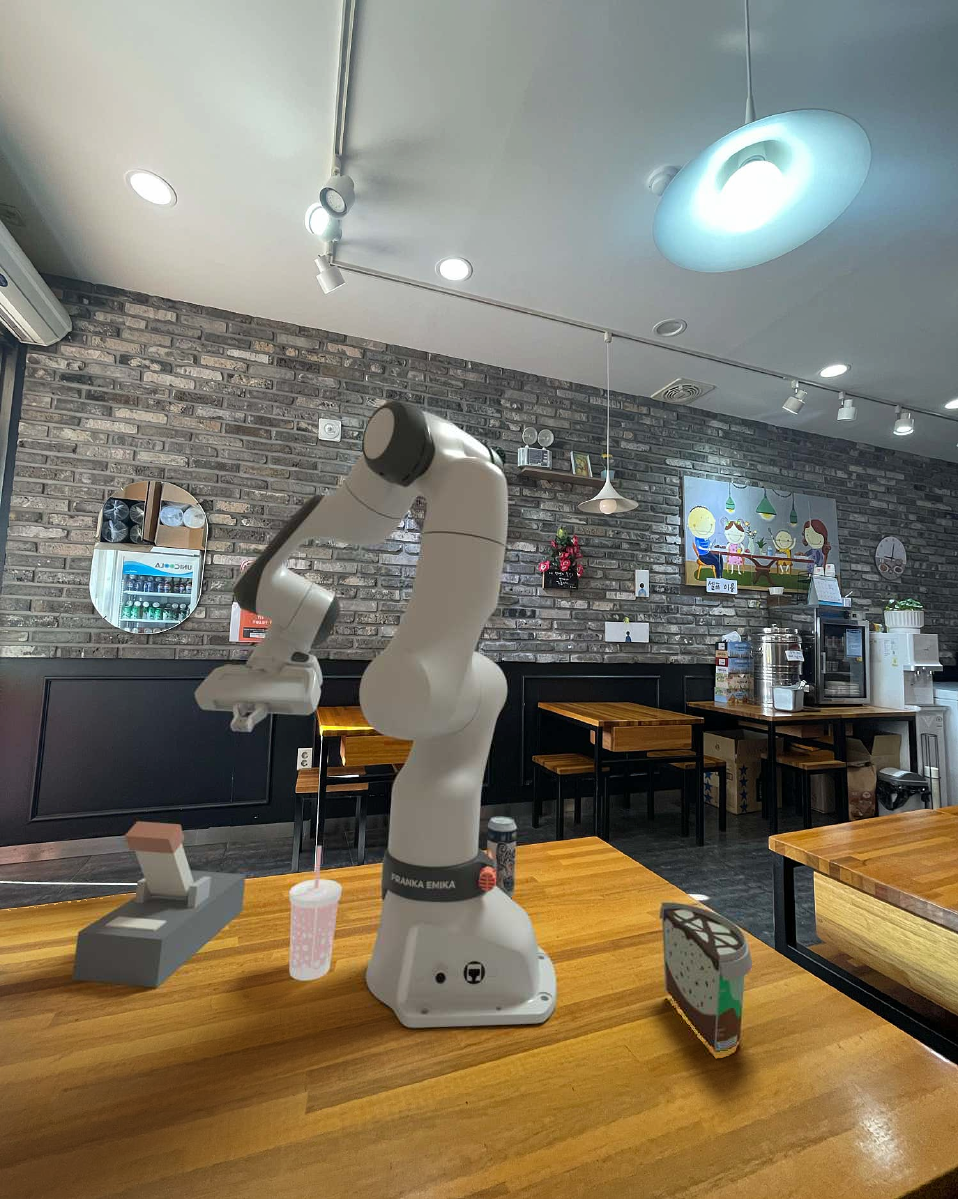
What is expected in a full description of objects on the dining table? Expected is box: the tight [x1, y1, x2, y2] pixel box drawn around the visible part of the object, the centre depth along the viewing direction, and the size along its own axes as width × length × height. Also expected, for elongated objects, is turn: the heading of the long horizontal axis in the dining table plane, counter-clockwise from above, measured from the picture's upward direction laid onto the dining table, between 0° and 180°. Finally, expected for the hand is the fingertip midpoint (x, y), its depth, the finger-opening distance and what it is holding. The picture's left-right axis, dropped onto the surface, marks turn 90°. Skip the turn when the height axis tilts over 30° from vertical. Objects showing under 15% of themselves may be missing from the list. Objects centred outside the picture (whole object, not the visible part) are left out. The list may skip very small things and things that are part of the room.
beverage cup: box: [288, 845, 343, 981], centre depth 63 cm, size 6×6×14 cm
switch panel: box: [71, 869, 246, 989], centre depth 67 cm, size 10×18×8 cm, turn 176°
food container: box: [658, 901, 753, 1052], centre depth 56 cm, size 12×6×10 cm, turn 9°
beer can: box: [486, 816, 518, 898], centre depth 84 cm, size 5×5×12 cm
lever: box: [124, 821, 194, 899], centre depth 65 cm, size 6×2×12 cm, turn 86°
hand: (240, 729), depth 82 cm, fingers closed
